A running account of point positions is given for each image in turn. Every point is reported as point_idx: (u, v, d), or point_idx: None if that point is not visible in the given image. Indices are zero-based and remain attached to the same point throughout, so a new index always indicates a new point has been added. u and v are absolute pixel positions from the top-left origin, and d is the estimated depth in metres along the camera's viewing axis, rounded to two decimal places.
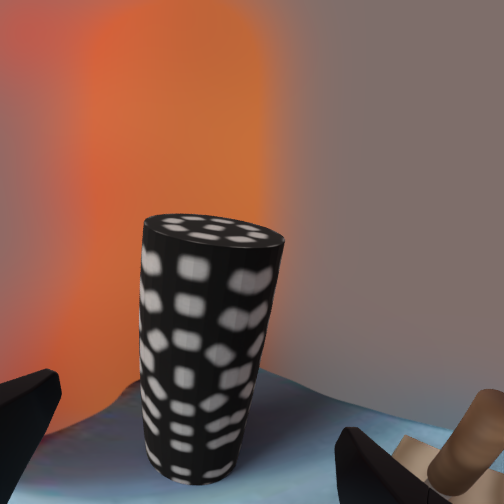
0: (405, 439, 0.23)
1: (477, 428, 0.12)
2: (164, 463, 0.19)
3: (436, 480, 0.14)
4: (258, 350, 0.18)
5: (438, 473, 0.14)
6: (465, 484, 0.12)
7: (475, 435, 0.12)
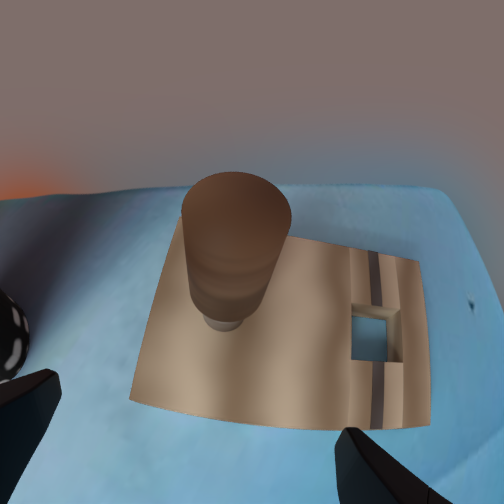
0: (181, 223, 0.25)
1: (196, 255, 0.12)
2: None
3: (199, 306, 0.17)
4: None
5: (195, 299, 0.16)
6: (240, 311, 0.16)
7: (199, 264, 0.12)
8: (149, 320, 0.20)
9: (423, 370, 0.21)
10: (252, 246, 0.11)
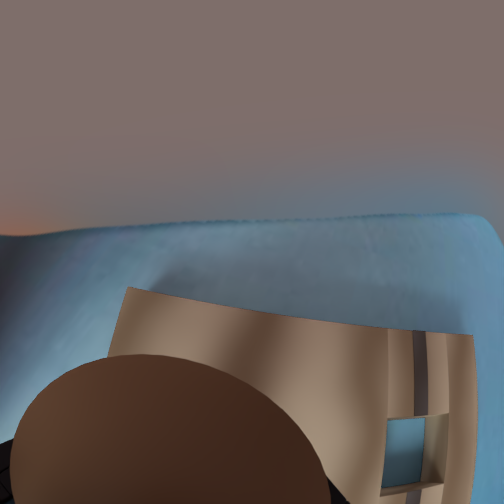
0: (129, 299, 0.15)
1: None
2: None
3: None
4: None
5: None
6: None
7: None
8: None
9: (465, 485, 0.11)
10: None
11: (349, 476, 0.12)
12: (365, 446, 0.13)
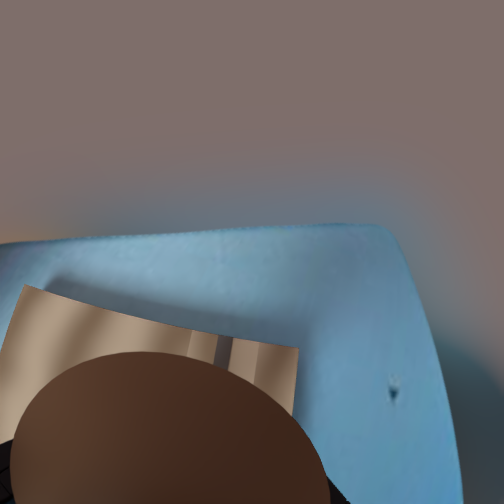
0: (24, 292, 0.20)
1: None
2: None
3: None
4: None
5: None
6: None
7: None
8: None
9: None
10: None
11: None
12: None
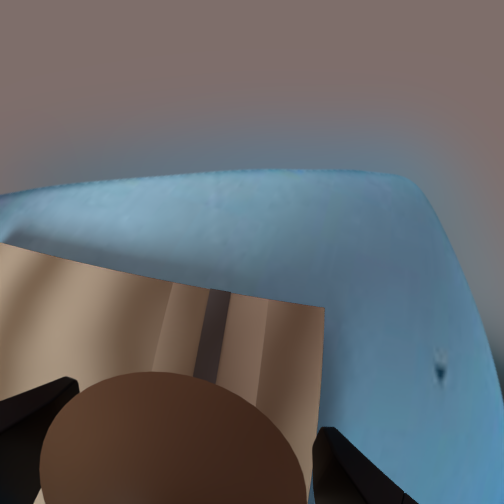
0: None
1: None
2: None
3: None
4: None
5: None
6: None
7: None
8: None
9: None
10: None
11: None
12: None
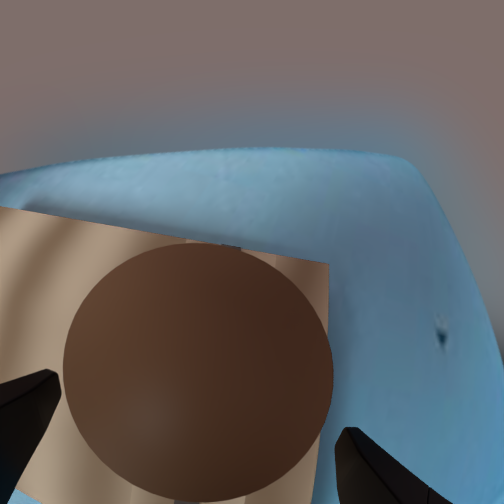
0: None
1: None
2: None
3: None
4: None
5: None
6: None
7: None
8: None
9: (298, 474, 0.10)
10: (233, 474, 0.04)
11: None
12: None
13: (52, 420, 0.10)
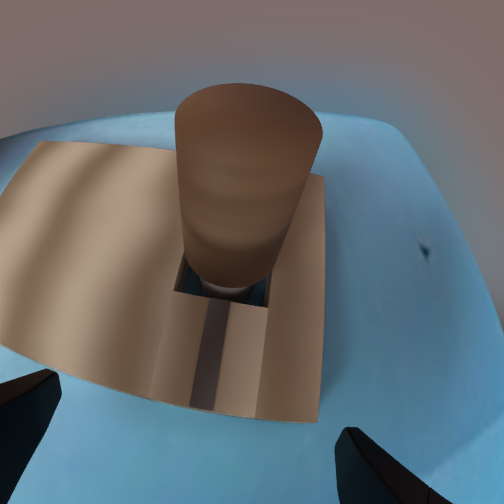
0: (38, 146, 0.19)
1: (192, 173, 0.08)
2: None
3: (196, 266, 0.13)
4: None
5: (191, 255, 0.13)
6: (249, 270, 0.12)
7: (197, 188, 0.09)
8: None
9: (309, 325, 0.14)
10: (273, 154, 0.08)
11: (143, 258, 0.15)
12: (165, 234, 0.16)
13: (92, 286, 0.14)
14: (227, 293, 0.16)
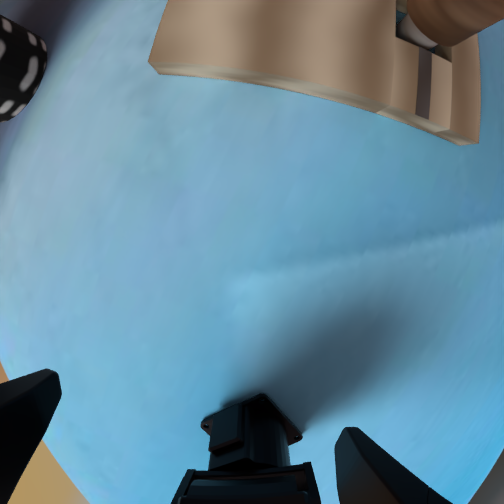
0: None
1: None
2: None
3: (425, 27, 0.12)
4: None
5: (425, 20, 0.12)
6: (460, 39, 0.12)
7: None
8: None
9: (473, 81, 0.15)
10: None
11: (368, 11, 0.14)
12: None
13: (333, 24, 0.14)
14: (423, 46, 0.15)
